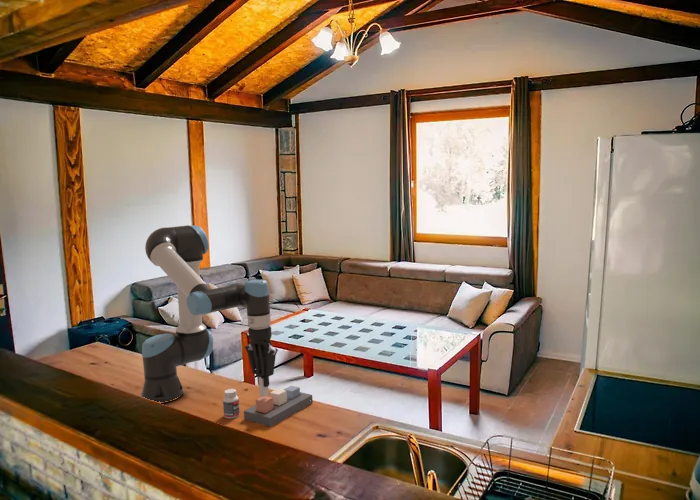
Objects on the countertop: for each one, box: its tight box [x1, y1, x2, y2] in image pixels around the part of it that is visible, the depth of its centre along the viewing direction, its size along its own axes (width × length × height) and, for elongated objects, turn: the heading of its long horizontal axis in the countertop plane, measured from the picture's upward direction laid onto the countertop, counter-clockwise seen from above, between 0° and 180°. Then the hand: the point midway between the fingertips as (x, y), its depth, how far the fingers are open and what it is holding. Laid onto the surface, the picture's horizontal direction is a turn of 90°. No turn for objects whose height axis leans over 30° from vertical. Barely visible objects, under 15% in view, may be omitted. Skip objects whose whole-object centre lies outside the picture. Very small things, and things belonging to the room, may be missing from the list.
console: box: [243, 391, 314, 428], centre depth 182 cm, size 12×22×3 cm, turn 146°
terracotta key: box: [255, 395, 273, 413], centre depth 176 cm, size 4×4×4 cm
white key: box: [269, 388, 287, 406], centre depth 182 cm, size 4×4×4 cm
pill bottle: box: [222, 388, 240, 420], centre depth 180 cm, size 5×5×9 cm
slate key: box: [283, 385, 301, 399], centre depth 188 cm, size 4×4×4 cm
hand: (264, 395), depth 176 cm, fingers closed
